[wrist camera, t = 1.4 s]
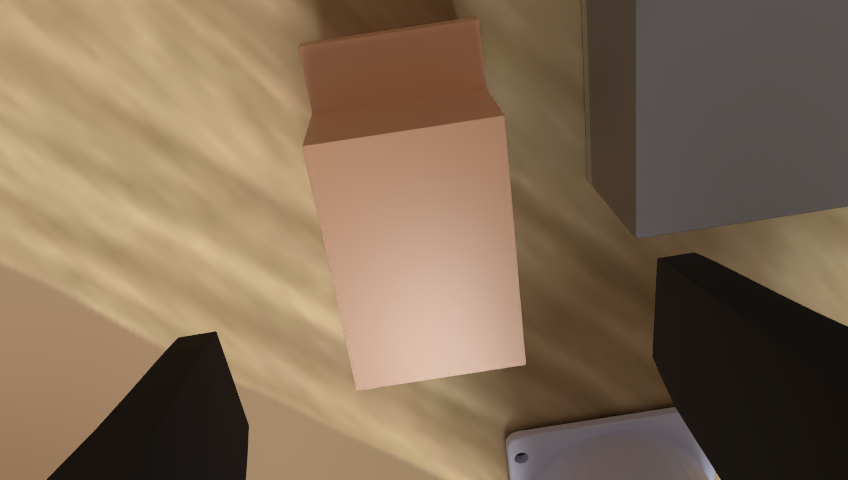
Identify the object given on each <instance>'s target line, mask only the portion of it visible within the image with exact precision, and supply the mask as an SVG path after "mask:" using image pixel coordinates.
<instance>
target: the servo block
mask: <svg viewBox="0 0 848 480" xmlns="http://www.w3.org/2000/svg"><path fill="white" fill-rule="evenodd" d="M299 51H300V56H301V61H302V66H303V70H304V75H305V80H306V85H307V89H308V94H309V99H310V104H311V108H312V113H313V114H312V117H311V120H310V123H309V127H308V130H307V133H306V136H305V139H304V143H303V146H302V147H303V151H304V156H305V160H306V165H307V169H308V174H309V178H310V183H311V187H312V192H313V196H314V201H315V205H316V210H317V214H318V219H319V223H320V228H321V232H322V237H323V241H324V246H325V250H326V255H327V259H328V264H329V268H330V273H331V277H332V282H333V286H334V291H335V295H336V300H337V304H338V309H339V313H340V318H341V322H342V327H343V331H344V336H345V340H346V345H347V349H348V354H349V358H350V363H351V367H352V372H353V376H354V381H355V385H356V390H357V391H358V390H365V389H372V388H378V387H385V386H391V385H398V384H404V383H411V382H417V381H424V380H430V379H437V378H443V377H450V376H456V375H463V374H469V373H476V372H482V371H489V370H495V369H502V368H509V367H515V366H522V365H526V359H525V348H524V336H523V324H522V313H521V301H520V289H519V278H518V266H517V254H516V243H515V231H514V219H513V208H512V196H511V184H510V173H509V161H508V149H507V138H506V126H505V115H504V114H503V112H502V111H501V110H500V108H499V107H498V105H497V104H496V102H495V101H494V99H493V98H492V96H491V95H490V93H489V92H488V90H487V89H486V87H485V77H484V67H483V57H482V46H481V36H480V26H479V19H478V18H477V17H469V18H463V19H456V20H450V21H443V22H436V23H430V24H423V25H417V26H410V27H403V28H397V29H390V30H384V31H377V32H370V33H364V34H357V35H350V36H344V37H337V38H331V39H324V40H317V41H311V42H304V43H300V45H299Z"/></svg>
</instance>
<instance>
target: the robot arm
mask: <svg viewBox="0 0 848 480" xmlns="http://www.w3.org/2000/svg"><path fill="white" fill-rule="evenodd" d="M653 359H654V362H655V364H656V366H657V368H658V371H659V373H660V375H661V377H662V380H663V382H664V384H665V386H666V388H667V391H668V393H669V395H670V397H671V399H672V401H673V403H674V405H675V407H672V408H665V409H659V410H652V411H646V412H639V413H633V414H626V415H620V416H613V417H607V418H600V419H594V420H588V421H581V422H575V423H568V424H562V425H555V426H549V427H542V428H536V429H529V430H523V431H517V432H514V433H512V434H510V435H509V436H508V438H507V439H506V452H507V461H508V470H509V480H715V471H716V473H717V474H718V476H719V477H720V479H721V480H848V327H847V326H845V325H843V324H841V323H838V322H836V321H834V320H832V319H830V318H828V317H826V316H823V315H821V314H819V313H817V312H815V311H813V310H811V309H809V308H807V307H804V306H802V305H800V304H798V303H796V302H794V301H792V300H790V299H788V298H786V297H784V296H782V295H780V294H778V293H776V292H774V291H772V290H770V289H768V288H766V287H764V286H762V285H760V284H758V283H756V282H754V281H752V280H750V279H749V278H747V277H745V276H743V275H741V274H739V273H737V272H735V271H733V270H731V269H729V268H727V267H725V266H723V265H721V264H719V263H717V262H715V261H712V260H710V259H708V258H706V257H704V256H701V255H699V254H697V253H688V254H682V255H676V256H670V257H664V258H657V276H656V297H655V317H654V338H653ZM248 431H249V425H248V422H247V419H246V416H245V413H244V410H243V407H242V405H241V402H240V399H239V396H238V393H237V390H236V387H235V384H234V381H233V378H232V376H231V373H230V370H229V367H228V364H227V361H226V358H225V355H224V353H223V350H222V347H221V344H220V341H219V338H218V335H217V332H210V333H204V334H198V335H192V336H186V337H180V338H178V339H177V340H176V341H175V342H174V343H173V344H172V345H171V346H170V347H169V348H168V349H167V350H166V351H165V352H164V353H163V355H162V356H161V357H160V358H159V359H158V360H157V361H156V362H155V364H154V365H153V366H152V367H151V368H150V369H149V370H148V372H147V373H146V374H145V375H144V376H143V377H142V378H141V380H140V381H139V382H138V383H137V384H136V385H135V386H134V388H133V389H132V390H131V391H130V392H129V393H128V394H127V395H126V396H125V398H124V399H123V400H122V401H121V402H120V403H119V404H118V405H117V407H116V408H115V409H114V410H113V411H112V412H111V413H110V414H109V416H107V418H106V419H105V420H104V421H103V422H102V423H101V424H100V425H99V426H98V428H97V429H96V430H95V431H94V432H93V433H92V434H91V435H90V436H89V437H88V438H87V439H86V440H85V441H84V442H83V443H82V444H81V445H80V446H79V447H78V448H77V449H76V450H75V451H74V452H73V453H72V454H71V455H70V456H69V457H68V458H67V459H66V460H65V461H64V462H63V463H62V464H61V465H60V466H59V468H57V469H56V471H55V472H54V473H53V474H52V475H51V476H50V477H49V478H48V479H47V480H246V468H247V453H248ZM519 453H525V454H524V455H521V456H516V455H517V454H519Z"/></svg>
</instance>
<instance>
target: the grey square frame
mask: <svg viewBox="0 0 848 480" xmlns="http://www.w3.org/2000/svg"><path fill="white" fill-rule="evenodd" d="M581 6H582V36H583V66H584V96H585V126H586V156H587V180H588V181H589V183H590V184H591V185H592V186H593V187H594V189H595V190H596V191H597V192H598V194H599V195H600V196H601V197H602V198H603V200H604V201H605V202H606V203H607V204H608V206H609V207H610V208H611V209H612V210H613V212H614V213H615V214H616V215H617V216H618V218H619V219H620V220H621V221H622V222H623V224H624V225H625V226H626V227H627V229H628V230H629V231H630V232H631V233H632V235H633V236H634V237H635V238H636V239H639V238H645V237H652V236H658V235H665V234H671V233H678V232H684V231H691V230H697V229H704V228H710V227H717V226H723V225H730V224H736V223H743V222H750V221H756V220H763V219H769V218H776V217H782V216H789V215H795V214H802V213H808V212H815V211H821V210H828V209H834V208H841V207H847V206H848V0H581Z"/></svg>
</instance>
